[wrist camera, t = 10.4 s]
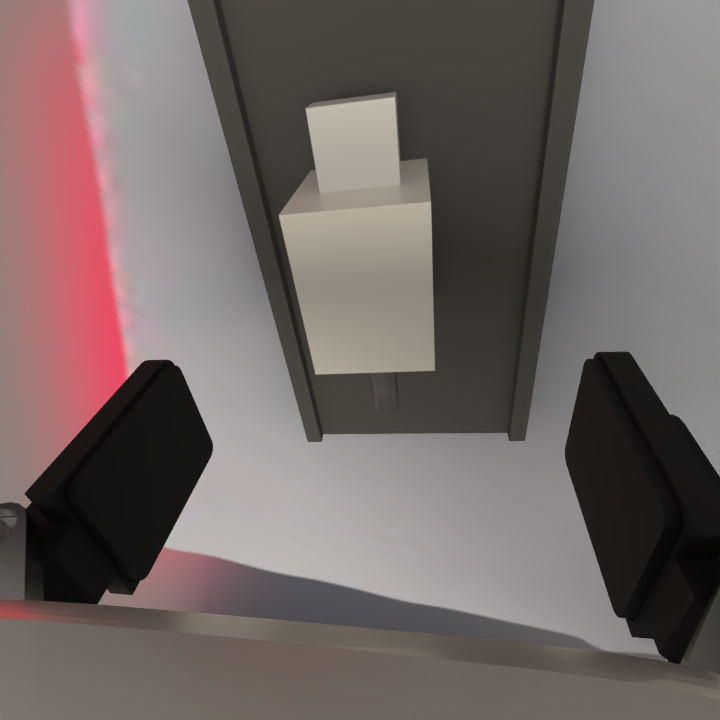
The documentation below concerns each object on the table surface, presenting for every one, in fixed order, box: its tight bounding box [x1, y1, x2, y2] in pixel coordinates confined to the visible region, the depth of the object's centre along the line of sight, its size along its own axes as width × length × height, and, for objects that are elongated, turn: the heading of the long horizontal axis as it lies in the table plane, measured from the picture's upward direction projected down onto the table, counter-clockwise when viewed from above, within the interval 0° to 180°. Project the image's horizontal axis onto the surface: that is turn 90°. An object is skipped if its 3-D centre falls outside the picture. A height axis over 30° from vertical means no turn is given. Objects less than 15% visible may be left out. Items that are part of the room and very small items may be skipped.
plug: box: [279, 92, 435, 415], centre depth 17 cm, size 12×4×5 cm, turn 7°
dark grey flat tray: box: [188, 0, 594, 442], centre depth 19 cm, size 20×12×1 cm, turn 7°
